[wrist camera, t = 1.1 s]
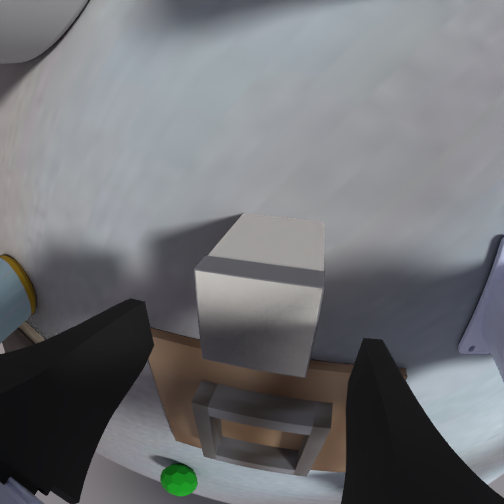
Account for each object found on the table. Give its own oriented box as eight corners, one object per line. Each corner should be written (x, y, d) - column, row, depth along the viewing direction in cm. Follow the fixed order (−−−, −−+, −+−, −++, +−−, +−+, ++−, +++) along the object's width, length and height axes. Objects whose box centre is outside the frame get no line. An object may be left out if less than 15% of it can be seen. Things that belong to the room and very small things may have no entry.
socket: (405, 368, 16) (411, 403, 14) (345, 465, 23) (342, 489, 21) (147, 326, 20) (125, 353, 17) (178, 434, 27) (168, 455, 24)
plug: (326, 221, 14) (324, 287, 9) (315, 293, 16) (305, 377, 10) (242, 212, 15) (193, 268, 9) (241, 283, 16) (202, 358, 11)
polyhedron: (190, 461, 30) (178, 490, 26) (208, 476, 32) (197, 503, 28) (161, 456, 32) (148, 482, 28) (179, 471, 34) (168, 496, 29)
